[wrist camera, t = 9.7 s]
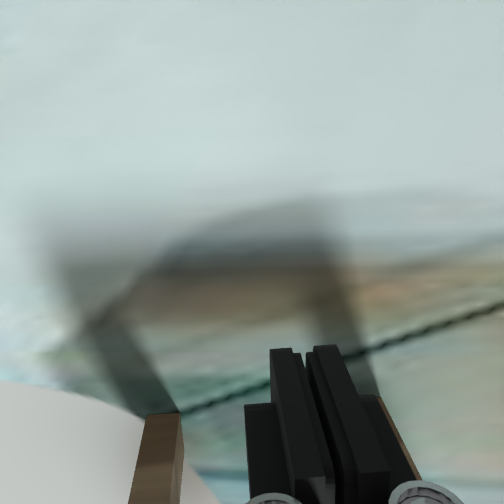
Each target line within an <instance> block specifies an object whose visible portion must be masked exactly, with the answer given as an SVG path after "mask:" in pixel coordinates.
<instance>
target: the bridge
mask: <svg viewBox="0 0 504 504" xmlns="http://www.w3.org/2000/svg"><path fill="white" fill-rule="evenodd" d="M376 398H377V399H378V401H379V403H380V405H381V407H382V409H383V411H384V413H385V415H386V417H387V419H388V421H389V423H390V425H391V427H392V430H393V432H394V434H395V436H396V438H397V440H398V442H399V444H400V446H401V448H402V450H403V452H404V454H405V456H406V458H407V460H408V462H409V464H410V466H411V469H412V471H413V473H414V475H415V477H416V479H417V480H421V481H423V480H422V478H421V476H420V474H419V472H418V470H417V468H416V466H415V464H414V462H413V460H412V458H411V456H410V454H409V452H408V450H407V448H406V446H405V444H404V442H403V440H402V438H401V436H400V434H399V432H398V430H397V428H396V426H395V424H394V422H393V420H392V418H391V416H390V414H389V412H388V410H387V408H386V406H385V404H384V402H383V400H382V398H381V397H376ZM183 459H184V444H183V436H182V428H181V419H180V413H169V414H156V415H147V416H146V421H145V426H144V430H143V436H142V440H141V445H140V449H139V454H138V459H137V463H136V469H135V473H134V478H133V482H132V488H131V492H130V497H129V501H128V504H179V502H180V491H181V481H182V470H183Z"/></svg>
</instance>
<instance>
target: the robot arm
mask: <svg viewBox="0 0 504 504" xmlns="http://www.w3.org/2000/svg"><path fill="white" fill-rule="evenodd" d="M270 384H271V403H261V404H248V405H244V414H245V431H246V447H247V462H248V476H249V490H250V501H248V502H247V503H246V504H464V503H463V502H462V501H461V500H460V499H459V498H458V497H457V496H456V495H455V494H454V493H452V492H451V491H449V490H448V489H446V488H445V487H443V486H440V485H438V484H435V483H433V482H427V481H421V480H417V479H416V477H415V475H414V473H413V471H412V469H411V466H410V464H409V462H408V460H407V458H406V456H405V454H404V452H403V450H402V448H401V446H400V444H399V442H398V440H397V438H396V436H395V434H394V432H393V430H392V427H391V425H390V423H389V421H388V419H387V417H386V415H385V413H384V411H383V409H382V407H381V405H380V403H379V401H378V399H377V398H376V396H374V395H365V396H358V394H357V391H356V389H355V387H354V384H353V382H352V380H351V377H350V375H349V373H348V370H347V368H346V366H345V364H344V361H343V359H342V357H341V354H340V352H339V350H338V347H337V346H336V345H321V346H314V348H313V352H307V353H306V370H305V367H304V364H303V360H302V357H301V354H300V353H293V351H292V348H279V349H270Z"/></svg>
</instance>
